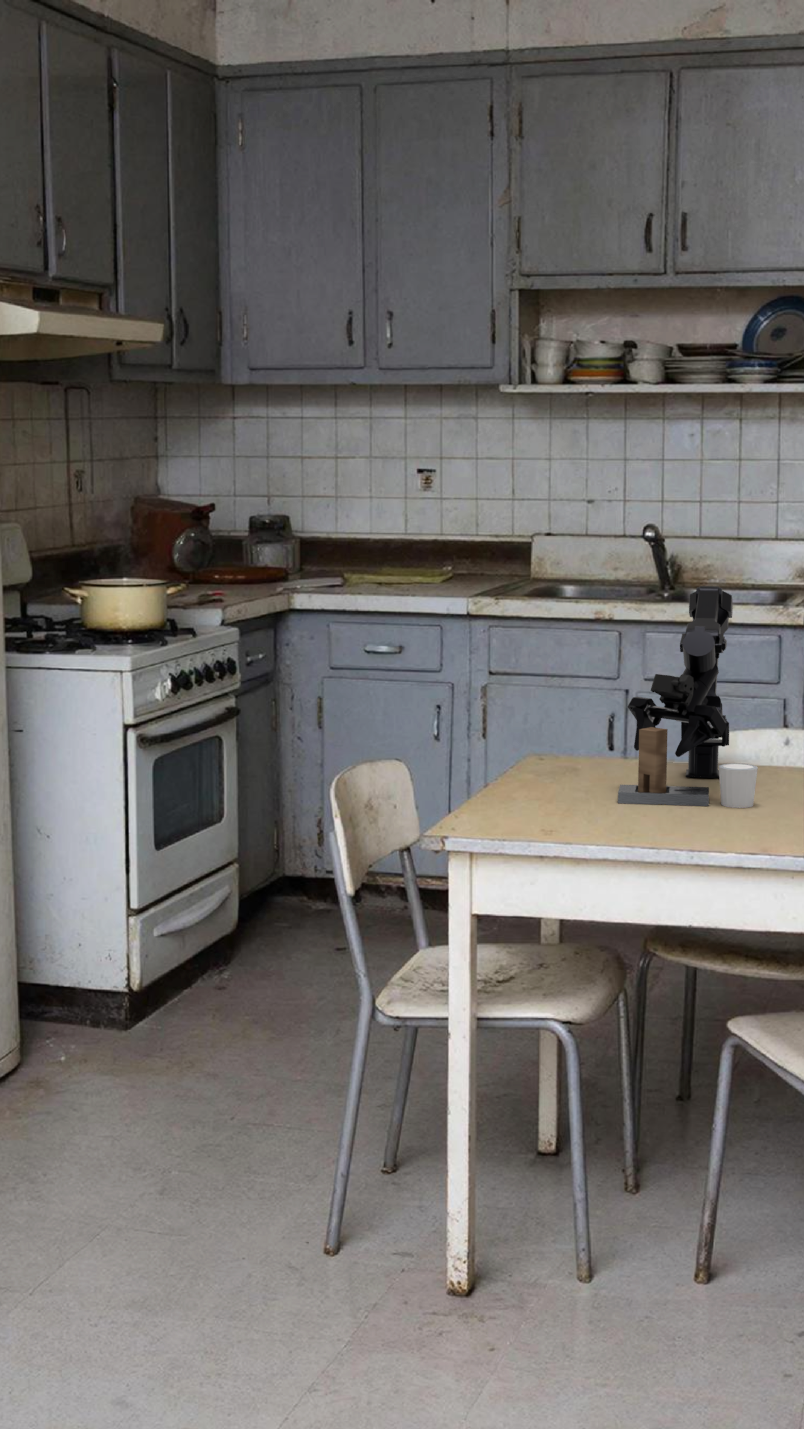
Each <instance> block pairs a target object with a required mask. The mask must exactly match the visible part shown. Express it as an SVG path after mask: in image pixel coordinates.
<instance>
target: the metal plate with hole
mask: <svg viewBox="0 0 804 1429" xmlns="http://www.w3.org/2000/svg"><path fill="white" fill-rule="evenodd" d="M709 801H710V787H709V786H686V785H685V786H682V785H681V786H680V785H678V786H677V785H676V786H675V785H666V793H653V792H638V784H619V787H618V791H617V804H630V805H633V804H634V805H658V804H660V805H661V804H662V805H664V804H666V805H665V806H691V807H692V806H694V807H697V806H698V807H709V806H710V804H709V803H710V802H709Z"/></svg>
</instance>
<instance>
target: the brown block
mask: <svg viewBox="0 0 804 1429" xmlns="http://www.w3.org/2000/svg"><path fill="white" fill-rule="evenodd" d="M667 765H668V728H662V727H656V728H654V727H649V728H644V729H639V750H638V773H637V776H638V777H637V778H638V780H637V781H638V782H637V785H638V792H653V793H666V786H667V769H668V767H667Z"/></svg>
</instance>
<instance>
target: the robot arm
mask: <svg viewBox="0 0 804 1429" xmlns="http://www.w3.org/2000/svg"><path fill="white" fill-rule="evenodd" d="M688 601H689V602H688V615H689V617H690V618H692V621H690V622H688V623H687V625H686V628H685V633H682V634H681V638H680V641H679V642H680V643H679V652H680V653H683V663H684V664H683V665H684V667H685V669H684V671H683V673H681V674H680V676H674V675H669V674H661V673H656V674H654V676H653V680H652V684H651V686H650V687H651V688H650V692H652V693H655V694H657V695H659V696H660V697H659V701H660V703H661V704H663V705H664V706H657V705H656V703H655V702H654V700H653V699H652V698H650V697H642V696H634V697H632V698H631V700H630V701H629V703H628V704H627V709H628V710H629V711H630V713H631V714H632V716H633V717H634V719H635V720H636V729H635V730H636V731H635V736H634V742H633V743H634V744H633V748H634V750H635V751H638V752H639V729H644V728H649V727H654V728H657V727H656V726H658V725H659V724H660V723H661V721H662V719H666V720H673V721H676V722H680V724H681V725H680V727H681V728H680V733H681V734H680V735H681V736H680V739H681V740H680V741H679V744H678V745H677V747H676V750H675V752H674V754H675V755H674V756H676V758H679V757H682V756H683V755H684V754H686V753H688V763H687V764H688V765H687V767H688V768H686V770H685V777H686V778H702V779H703V778H705V779H706V778H707V779H708V778H709V779H719V747H722V748H723V747H725V746H730V722H729V721H728V719H727V716H726V715H724V713H723V712H724V711H723V703H722V699H721V697H720V696H719V695H717V684H718V675H719V673H720V672H719V671H720V670H719V658H720V656H721V655H720V654H724V652H725V651H726V649H727V644H728V642H727V641H728V640H727V639H726V638H725V636H724V634H725V633H726V632H727V631H728V629H729V620H730V619H732V618H733V606H734V605H733V595H732V594H730V593H728V592H726V591H724V590H723V587H719V586H718V585H717V586H715V585H714V586H713V585H711V586H709V585H707V586H706V585H702V586H701V585H700V586H699V587H696V589H695V591H694V592H692V593H690V594H689V599H688Z"/></svg>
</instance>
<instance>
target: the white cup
mask: <svg viewBox="0 0 804 1429" xmlns="http://www.w3.org/2000/svg"><path fill="white" fill-rule="evenodd" d="M718 770H719V778H718V779H719V791H720V792H719V793H720V804H721V806H723V807H727V808H733V809H745V808H752V807H753V806H754V802H755V801H754V800H755V793H756V792H755V791H756V784H757V777H758V766H757V765H754V764H748V763H741V762H740V763H735V762H734V763H723V764H718Z"/></svg>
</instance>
